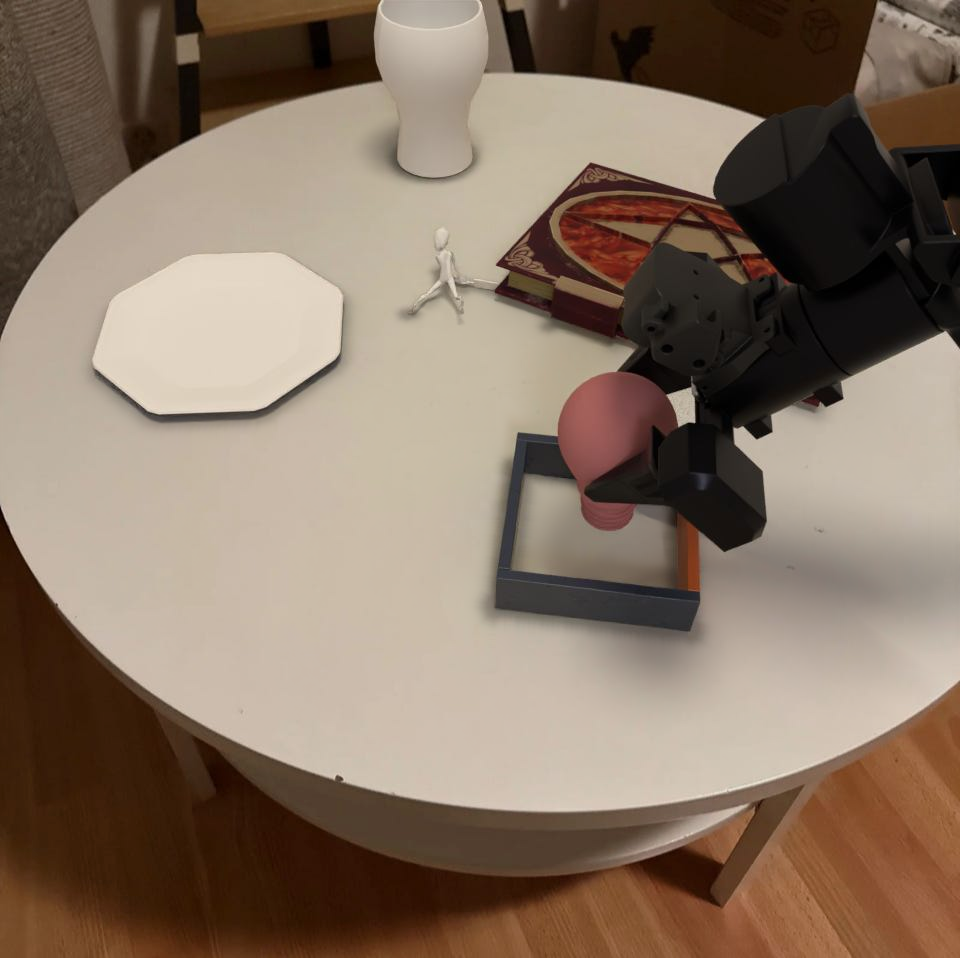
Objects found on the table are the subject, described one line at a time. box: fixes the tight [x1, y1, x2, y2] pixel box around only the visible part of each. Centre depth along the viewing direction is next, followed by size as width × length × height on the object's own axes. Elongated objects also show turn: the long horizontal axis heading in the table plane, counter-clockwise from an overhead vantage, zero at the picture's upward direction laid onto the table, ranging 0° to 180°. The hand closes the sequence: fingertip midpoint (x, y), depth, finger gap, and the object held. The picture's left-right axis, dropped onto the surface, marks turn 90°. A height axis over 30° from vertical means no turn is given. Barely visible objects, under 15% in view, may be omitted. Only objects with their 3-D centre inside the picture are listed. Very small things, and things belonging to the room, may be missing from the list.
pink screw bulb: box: [557, 371, 679, 532], centre depth 57 cm, size 7×7×12 cm
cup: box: [373, 0, 489, 179], centre depth 89 cm, size 11×11×15 cm
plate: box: [91, 251, 345, 417], centre depth 77 cm, size 20×20×2 cm
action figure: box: [407, 226, 501, 315], centre depth 79 cm, size 12×5×7 cm
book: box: [493, 161, 821, 408], centre depth 80 cm, size 28×21×5 cm
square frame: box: [494, 431, 701, 632], centre depth 62 cm, size 13×13×4 cm
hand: (591, 449), depth 56 cm, fingers closed on pink screw bulb, 7 cm apart
